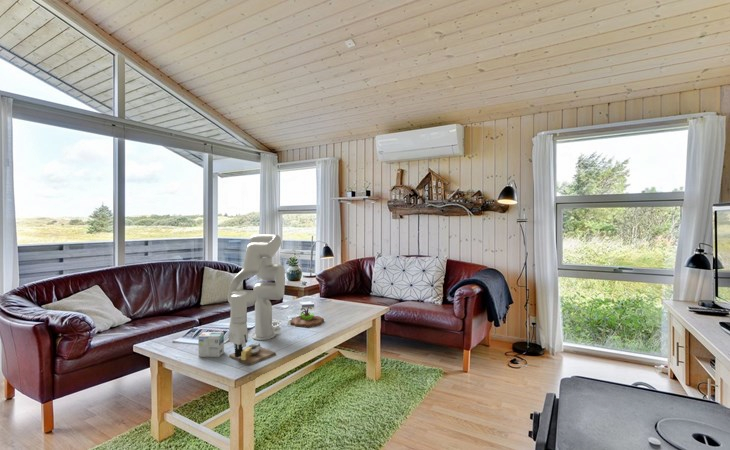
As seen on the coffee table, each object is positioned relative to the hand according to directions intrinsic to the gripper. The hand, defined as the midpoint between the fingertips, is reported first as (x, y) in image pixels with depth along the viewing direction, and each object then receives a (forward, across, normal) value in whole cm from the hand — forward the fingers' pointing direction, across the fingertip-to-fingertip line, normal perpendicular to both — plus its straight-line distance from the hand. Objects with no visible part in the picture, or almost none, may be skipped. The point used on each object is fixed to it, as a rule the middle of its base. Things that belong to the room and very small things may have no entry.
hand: (238, 356), depth 179 cm
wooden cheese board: (+2, 0, +8) cm, 8 cm away
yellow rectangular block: (+1, +1, +6) cm, 6 cm away
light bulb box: (+3, -17, -5) cm, 18 cm away
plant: (+3, -20, +62) cm, 65 cm away
